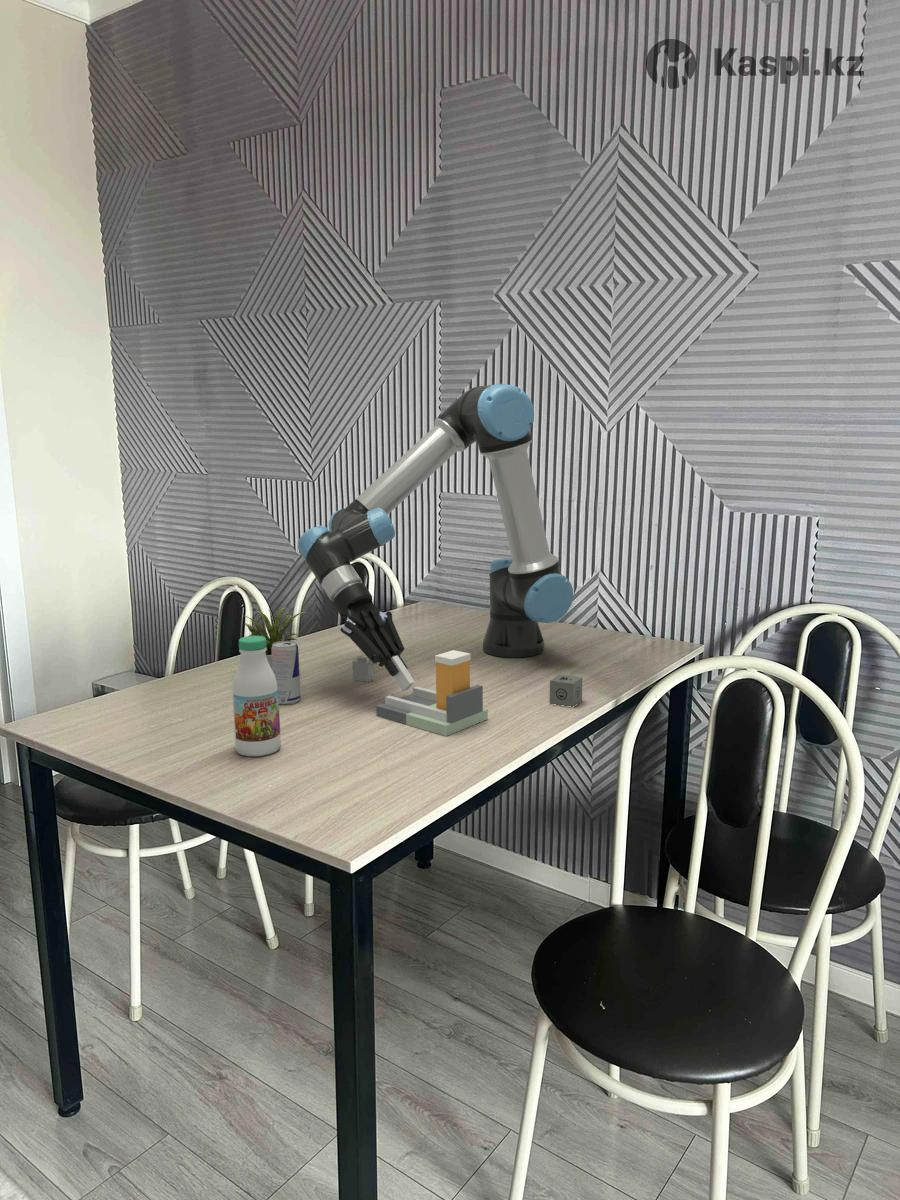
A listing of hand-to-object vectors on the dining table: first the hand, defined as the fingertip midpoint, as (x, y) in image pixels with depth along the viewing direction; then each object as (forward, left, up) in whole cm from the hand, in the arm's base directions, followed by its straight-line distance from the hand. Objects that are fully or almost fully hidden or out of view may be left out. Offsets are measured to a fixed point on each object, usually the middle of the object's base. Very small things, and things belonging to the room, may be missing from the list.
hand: (408, 686), depth 174 cm
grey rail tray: (-3, +5, -5) cm, 8 cm away
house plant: (+21, -33, -5) cm, 39 cm away
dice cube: (-31, +6, -5) cm, 32 cm away
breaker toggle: (-6, +10, -3) cm, 12 cm away
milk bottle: (+31, +11, -5) cm, 33 cm away
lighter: (+3, -23, -5) cm, 24 cm away
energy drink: (+22, -15, -5) cm, 27 cm away
